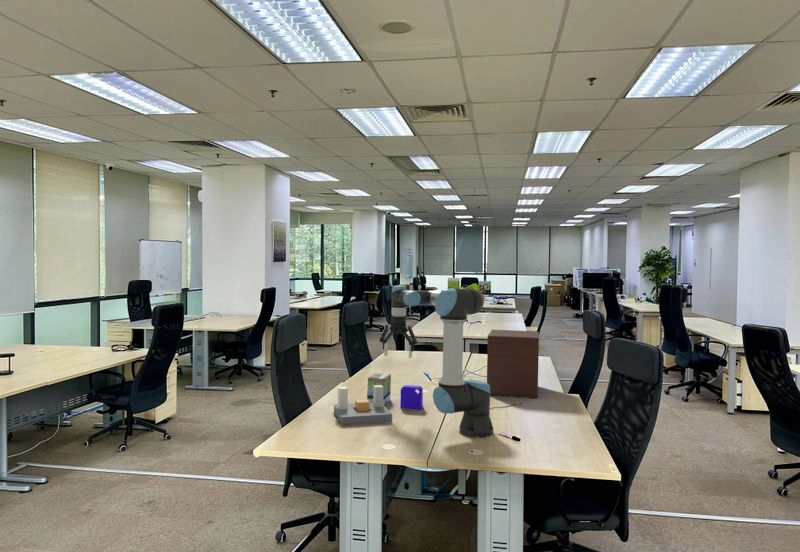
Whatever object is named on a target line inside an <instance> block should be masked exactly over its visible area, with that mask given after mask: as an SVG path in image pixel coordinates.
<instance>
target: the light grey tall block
mask: <svg viewBox="0 0 800 552" xmlns="http://www.w3.org/2000/svg"><path fill="white" fill-rule="evenodd" d="M383 392H384V387H383V386H382V385H373V405H374V406H375V408H376V407H383Z"/></svg>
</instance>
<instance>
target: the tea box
mask: <svg viewBox="0 0 800 552" xmlns="http://www.w3.org/2000/svg"><path fill="white" fill-rule="evenodd" d="M373 385H382V386H383V387H384V392H383V405H384V406H385V405H386V404H387V403H388V402H389V401H390V400H391V394H392V393H391V390H392V389H391V387H392V374H390V373H379V372H375V373H373V374H371V375H370V376H368V377H367V392H366V399H367V400H368V401H369V402H373Z"/></svg>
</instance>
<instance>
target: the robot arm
mask: <svg viewBox="0 0 800 552" xmlns="http://www.w3.org/2000/svg"><path fill="white" fill-rule="evenodd" d="M484 305H485V297H484V295H483V294H482V293H481V291H480V290H477V289H476V288H456V287H455V288H452V287H451V288H444V289H441V290H437V289H435V290H434V289H432V290H407V286H406V285H393V286H392V288H391V322H390V323H391V324H390V323H387V324H385V325H384V327H385V328H384V330H383V332H382V334H381V336H380V338H379V340H378V341H379V342H380V343H382V349H383V353H384V354H383V356H384V357H386V356H389V355H388V354H389V353H388V349H389V345H388V344H389V343H388V341H389V339H391V337H392V336H393V335H394V334H396V335H397V334H399V335H403V336H404V338H405V339H406V341H407V342H408V343H409V345H408V359H412V357H413V352H414V350H415V345H417V344H418V340H417V338H416V336H415V333H414V331H413V326H412V325H407V316H406V315H407V306H408V307H416V306H434V308H435V310H436V311H435V312H436V314H437V315H438V316H440V317H439V320H441V322H442V323H443V328H442V329H443V331H442V332H443V335H442V336H443V337H442V338H443V339H442V341H443V342H442V374H441V375H442V376H441V378H440V379H439V381H438V386H437V387H435V388H434V390H433V391H432V392H433V393H432V399H433V403H434V406H435V407H436V409H437V411H439V412H440V413H441V414H443V415H446V414H457V413H462V412H463V415H462V418H461V421H460V424H459V427H458V428H459V433H460V434H461V435H464V436H466V437H471V438H472V437H473V438H487V437H491V436H492V435H494V427H493V423H492V419H491V415H490V412H491V410H490V408H491V407H490V405H491V404H490V403H491V401H490V400H491V395H490V385H489V384H488V383H487V381H482V380H478V379H465V380H464V379H463V357H464V356H463V353H464V352H463V351H464V349H463V348H464V345H463V344H464V323H466V322H467V321H468V315H469V316H470V315H475V314H477V313H480V312H481V310H482V309H483V308H484ZM389 329H391V331H390V332H389V333H388V331H389ZM406 330H407V331H408V332H407V331H406ZM408 333H409V334H408ZM387 334H388V335H387Z"/></svg>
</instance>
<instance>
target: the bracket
mask: <svg viewBox="0 0 800 552" xmlns="http://www.w3.org/2000/svg"><path fill="white" fill-rule="evenodd" d="M417 391H418V392H417ZM423 392H424V391H423V387H422V386H421V385H414V384H404V385H403V386H402V387H401V389H400V400H399V401H400V408H408V409H407V410H412V409H418V410H417V411H421V410H423V408H424V407H423V405H424V404H423V403H424V401H423V400H424V399H423V398H424V396H423V395H424V393H423Z"/></svg>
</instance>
